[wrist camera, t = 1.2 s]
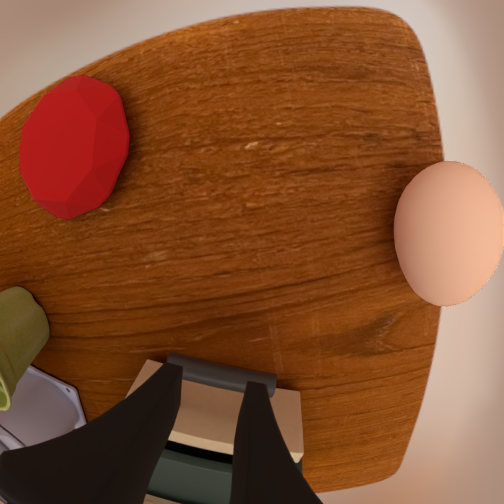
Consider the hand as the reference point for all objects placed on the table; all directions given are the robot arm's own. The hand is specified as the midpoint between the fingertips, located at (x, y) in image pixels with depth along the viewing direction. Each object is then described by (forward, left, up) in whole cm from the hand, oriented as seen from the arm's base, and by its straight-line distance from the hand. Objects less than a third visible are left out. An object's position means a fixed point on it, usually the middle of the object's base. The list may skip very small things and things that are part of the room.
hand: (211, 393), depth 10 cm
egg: (+10, +11, -6) cm, 16 cm away
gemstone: (-12, +7, -10) cm, 17 cm away
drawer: (0, -11, -9) cm, 14 cm away
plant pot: (-19, -8, -10) cm, 23 cm away
